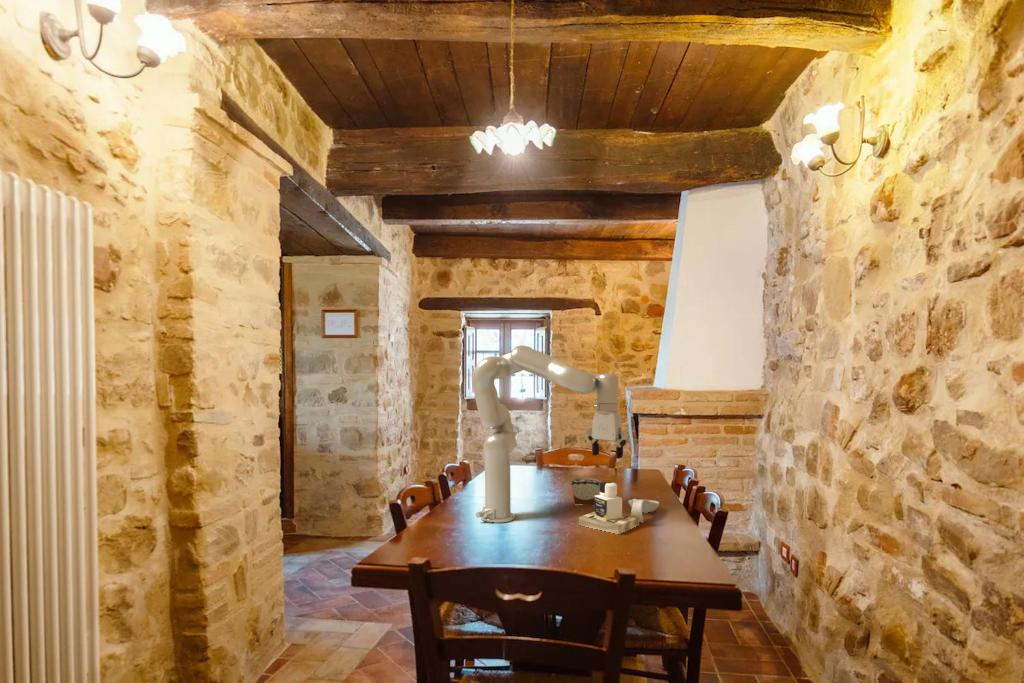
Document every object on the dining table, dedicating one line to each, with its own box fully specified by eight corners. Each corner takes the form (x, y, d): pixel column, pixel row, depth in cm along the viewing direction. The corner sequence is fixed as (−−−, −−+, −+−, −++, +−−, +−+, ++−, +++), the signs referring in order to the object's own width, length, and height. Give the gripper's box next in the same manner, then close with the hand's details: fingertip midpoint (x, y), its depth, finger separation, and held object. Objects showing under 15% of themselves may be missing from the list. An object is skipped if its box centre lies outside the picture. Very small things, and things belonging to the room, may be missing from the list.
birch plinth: (618, 534, 183) (618, 525, 183) (578, 525, 193) (578, 516, 194) (639, 525, 193) (639, 516, 193) (600, 517, 204) (600, 508, 204)
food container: (600, 502, 227) (600, 477, 228) (601, 505, 221) (601, 480, 222) (570, 501, 229) (570, 477, 229) (570, 505, 222) (570, 480, 223)
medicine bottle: (593, 515, 195) (594, 481, 195) (609, 513, 198) (609, 480, 199) (606, 520, 188) (606, 485, 189) (622, 518, 192) (622, 483, 193)
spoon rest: (630, 506, 221) (630, 488, 221) (661, 509, 217) (660, 491, 217) (620, 522, 199) (620, 502, 199) (654, 525, 195) (653, 504, 195)
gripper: (581, 407, 198) (581, 454, 197) (623, 410, 187) (623, 460, 186) (592, 406, 204) (592, 452, 203) (634, 409, 192) (634, 458, 192)
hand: (607, 456), depth 195 cm, fingers open, 9 cm apart
